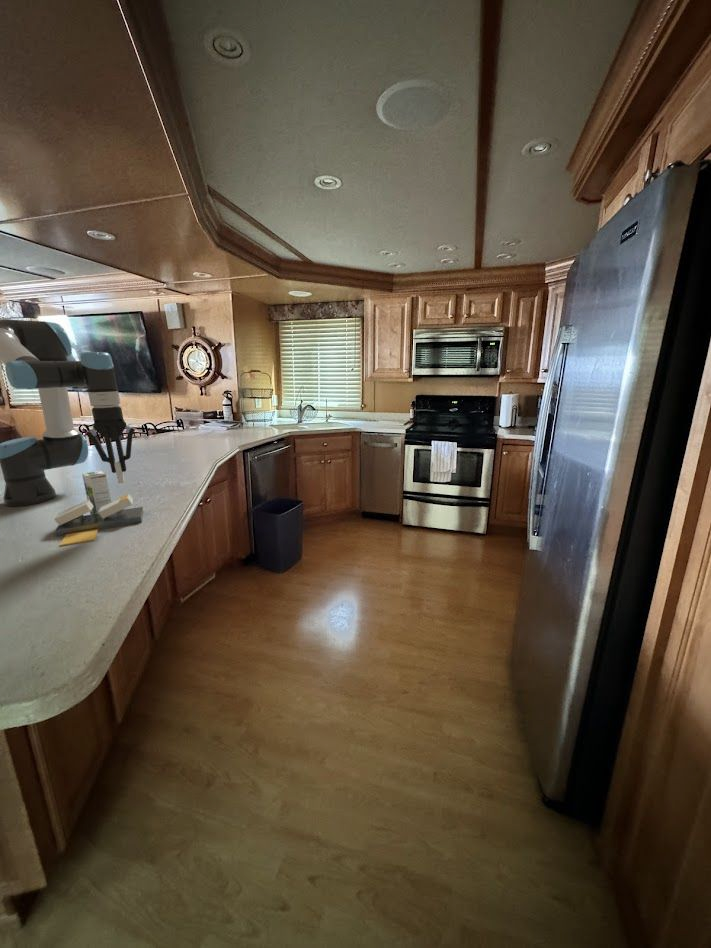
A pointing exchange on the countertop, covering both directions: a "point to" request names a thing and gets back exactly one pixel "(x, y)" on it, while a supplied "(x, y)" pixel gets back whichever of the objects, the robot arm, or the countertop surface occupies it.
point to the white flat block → (73, 512)
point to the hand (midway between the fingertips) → (121, 482)
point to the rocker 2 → (116, 506)
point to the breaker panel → (100, 521)
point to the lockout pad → (79, 537)
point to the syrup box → (96, 490)
